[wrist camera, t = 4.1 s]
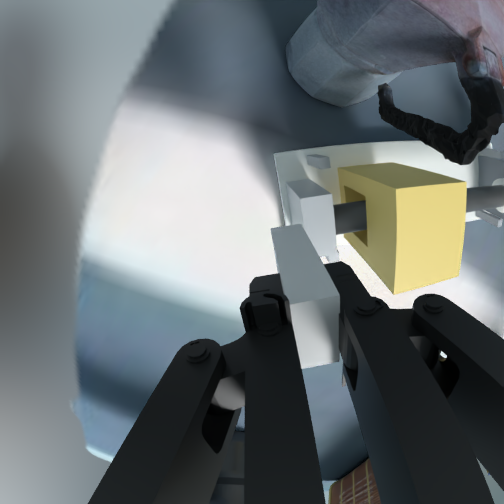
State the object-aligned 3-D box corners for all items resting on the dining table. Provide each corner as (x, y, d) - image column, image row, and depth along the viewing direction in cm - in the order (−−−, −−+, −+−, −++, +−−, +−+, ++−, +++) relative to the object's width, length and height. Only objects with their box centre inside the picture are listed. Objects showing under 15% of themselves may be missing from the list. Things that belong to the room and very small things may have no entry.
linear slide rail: (288, 249, 26) (312, 319, 16) (273, 153, 22) (293, 162, 12) (485, 214, 24) (546, 247, 14) (485, 142, 21) (553, 157, 11)
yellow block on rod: (343, 237, 22) (393, 294, 13) (337, 167, 20) (395, 189, 11) (395, 227, 22) (458, 276, 13) (392, 162, 20) (466, 181, 11)
